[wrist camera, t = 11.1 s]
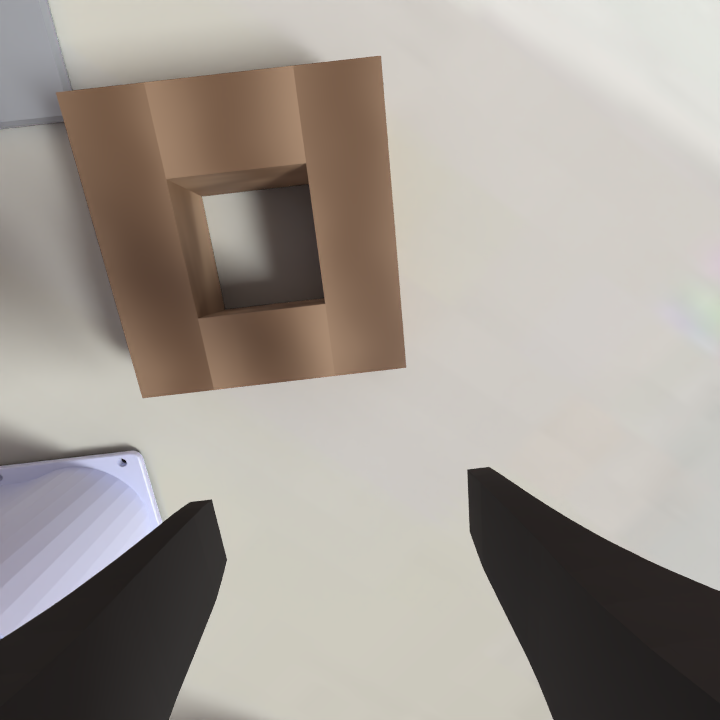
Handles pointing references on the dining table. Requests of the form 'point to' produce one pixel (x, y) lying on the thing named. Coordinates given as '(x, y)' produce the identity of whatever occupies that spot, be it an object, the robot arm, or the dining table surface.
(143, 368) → the block
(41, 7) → the pad
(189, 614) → the robot arm
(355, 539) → the dining table surface
